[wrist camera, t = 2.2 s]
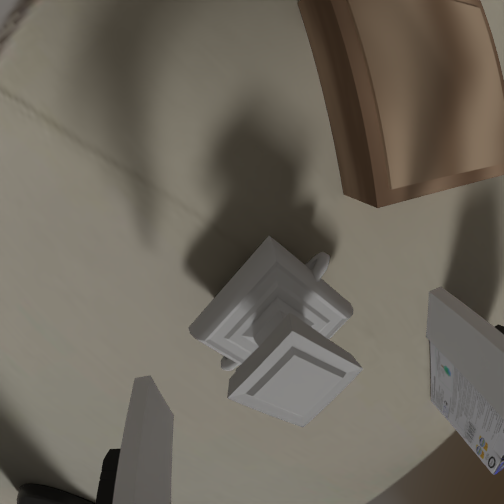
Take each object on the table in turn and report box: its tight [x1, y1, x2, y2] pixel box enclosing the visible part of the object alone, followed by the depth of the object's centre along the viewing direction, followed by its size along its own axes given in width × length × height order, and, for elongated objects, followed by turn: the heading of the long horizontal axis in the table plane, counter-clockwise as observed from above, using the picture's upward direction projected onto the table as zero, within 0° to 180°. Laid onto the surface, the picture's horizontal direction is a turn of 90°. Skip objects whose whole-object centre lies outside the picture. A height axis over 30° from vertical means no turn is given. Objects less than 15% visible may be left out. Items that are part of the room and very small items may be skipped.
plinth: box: [298, 0, 504, 208], centre depth 15 cm, size 12×12×4 cm
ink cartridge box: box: [430, 341, 504, 475], centre depth 19 cm, size 10×6×14 cm, turn 22°
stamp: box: [189, 235, 363, 427], centre depth 16 cm, size 9×7×8 cm
